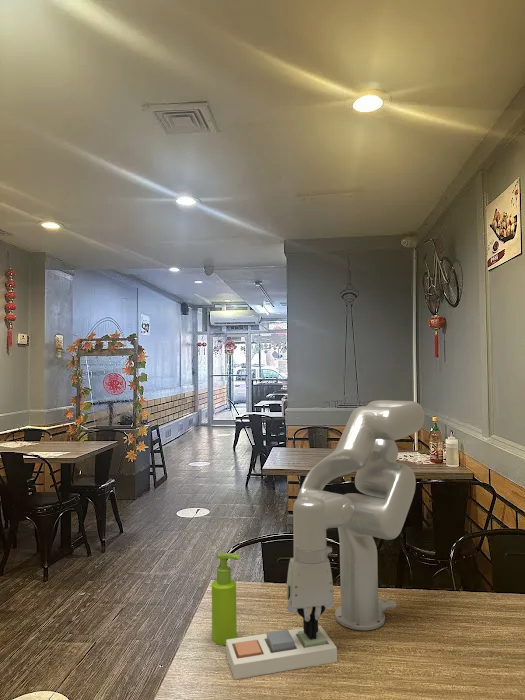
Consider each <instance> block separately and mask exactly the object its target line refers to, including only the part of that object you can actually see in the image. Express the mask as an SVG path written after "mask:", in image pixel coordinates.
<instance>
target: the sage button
mask: <svg viewBox="0 0 525 700" xmlns="http://www.w3.org/2000/svg"><path fill="white" fill-rule="evenodd" d="M298 639H299V641H300V642H301V644H302V646H303V647H304V648H306V647H313V646H319V645H325V644H326V638H325V637H324V636H323V634H322V633H321V631H320V630H319V629H318V632H316V639H314V638H312V639H309V638H308V636H307V635H306V634H305V633H304V631H298Z"/></svg>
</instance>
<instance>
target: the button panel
mask: <svg viewBox="0 0 525 700" xmlns="http://www.w3.org/2000/svg"><path fill="white" fill-rule="evenodd" d="M318 629H319V630H320V631H321V633H322V634H323V636H324V637H325V638H326V644H325V645H319V646H313V647H306V648H304V647H303V646H302V644H301V642H300V641H299V639H298V631H304V630H303V627H302V628H295V629H287V630H288V631H289V633H290V635H291V636H292V638H293V640H294V650H288V651H282V652H276V653H272V652H271V650H270V647H269V645H268V643H267V633H262V634H255V635H247V636H242V637H237V638H234V639H227V640H226V645H225V654H226V657H227V661H228V663H229V667H230V670H231V673H232V676H233V679H234V680H241V679H246V678H251V677H257V676H263V675H268V674H269V675H270V674H274V673H280V672H286V671H292V670H298V669H303V668H310V667H316V666H320V665H321V666H322V665H326V664H327V665H328V664H333V663H337V662H338V648H337V646H336V645H335V643H334V642H333V640H332V638H330V636H329V635H328V634H327V632H326V631H325V629H324V628H323V627H322V626H321V625H318ZM251 640H256V641H257V643H258V645H259V647H260V650H261V654H262V655H257V656H251V657H245V658H238V659H237V657H236V654H235V649H234V643H238V642H244V641H251Z"/></svg>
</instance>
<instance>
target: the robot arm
mask: <svg viewBox="0 0 525 700" xmlns="http://www.w3.org/2000/svg"><path fill="white" fill-rule="evenodd" d="M425 417H426V416H425V411H424V408H423V407H422V405H421V404H420V403H418V402H416V401H413V400H390V399H388V400H387V399H386V400H385V399H379V400H373V401H370V402H368V404H367V405H363V406H357V408H355V409H354V410H353V411H352V412H351V413H350V416H349V418H348V420H347V423H346V425H345V427H344V429H343V432H342V434H341V436H340V438H339V441H338V442H337V445H336V447H335V449H334V450H333V451H332V452H331V453H330V454H328V455H326V457H324V458H323V459H321V460H320V461H319V462H318V463H316V465H314V466H313V467H312V468H311V469H310V470H309V472H307V475H306V476H305V478H304V480H303V482H302V485H301V487H300V489H299V491H298V493H297V494H298V495H297V497H296V500H295V501H294V503H293V507H292V510H293V511H292V513H293V514H292V515H293V517H292V518H293V519H292V522H293V525H292V526H293V528H292V529H293V534H292V535H293V557H290V559H289V563H288V569H287V579H286V600H287V601H288V602H287V611H288V612H289V613H291V614H295V615H296V614H298V615H299V616H301V617H302V619H303V621H302V622H303V623H302V625H303V627H302V628H303V630H304V633H305V634H306V635H307V636H308V638H309V639H312V638H314V639H316V632H318V626H319V620H321V619H320V618H321V616H322V614H323V613H324V612H325V610H328V609H329V610H330V609H331V608H333V607H334V602H333V601H334V583H333V574H332V573H333V572H332V567H331V563H330V559H329V557H328V554H331V553H333V548H332V546H328V545H327V530H328V529H334V528H335V529H336V528H337V531H338V539H339V541H338V542H339V567H340V568H339V574H340V577H339V578H340V579H339V580H340V605H339V606H337V608H336V609H335V612H334V617H335V620H336V621H337V622H338V624H340V625H342V626H343V627H345V628H348V629H350V630H354V631H355V630H356V631H372V630H376V629H379V628H380V627H382V626H383V625H384V624H385V621H386V616H385V612H386V610H394V609H397V604H396V601H395V600H387V598H386V597H381V598H379V575H378V573H379V571H378V549H377V544H376V541H375V539H374V538H377V539H378V538H379V539H380V540H381V539H383V540H386V541H389V540H394V539H396V538H397V537H399V536H400V534H401V532H402V529H403V527H404V524H405V522H406V518H407V516H408V513H409V510H410V508H411V505H412V502H413V498H414V495H415V493H416V485H417V483H416V474H415V473H414V471H413V469H412V468H411V467H410V466H409V465H407V464H404V463H400V462H397V459H398V456H399V448H398V445H397V443H396V441H398V440H402V439H404V438H407V437H409V436H411V435H413V434H416V433H417V432H419V431H420V430H421V429H422V427H423V426H424V422H425ZM355 472H356V474H355V478H354V485H355V488H356V490H358V491H359V492H360V493H356V492H355V493H353V492H351V493H349V492H347V493H345V494H340V493H336V492H330V491H326V490H324V489H325V486H326V485H328V484H329V483H330V482H331V481H333V480H334V479H337V478H339V477H341V476H344V475H348V474H351V473H355ZM361 493H362V494H361ZM309 608H311V609H309Z"/></svg>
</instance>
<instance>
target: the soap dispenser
mask: <svg viewBox="0 0 525 700" xmlns="http://www.w3.org/2000/svg"><path fill="white" fill-rule="evenodd" d="M240 557H241V555H239V554H237V553H230V552H219V553H218V554H217V556H216V559H219V566H217V568H216V579H215V580H213V581H212V582H211V638H212V639H211V640H212V643H214V644H215V645H218V646H226V640H227V639H234V638H238V637H237V636H238V635H237V630H238V628H237V627H238V626H237V582H236V580H234V579H233V578H232V574H231V573H232V571H231V570H232V569H231V567H230V566H228V559H229V560H236V561H238V560H239V558H240Z"/></svg>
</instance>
